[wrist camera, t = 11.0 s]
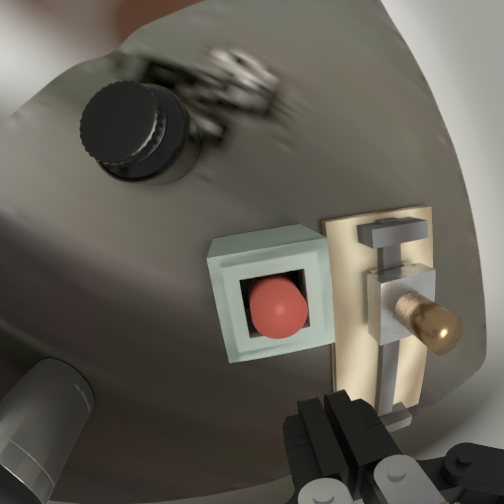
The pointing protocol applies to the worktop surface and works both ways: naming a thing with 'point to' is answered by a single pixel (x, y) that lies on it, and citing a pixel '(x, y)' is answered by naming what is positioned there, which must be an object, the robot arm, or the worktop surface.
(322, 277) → the button box
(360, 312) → the rail track
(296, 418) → the robot arm
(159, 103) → the supplement bottle
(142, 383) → the worktop surface
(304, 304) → the button
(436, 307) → the carriage
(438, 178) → the worktop surface
